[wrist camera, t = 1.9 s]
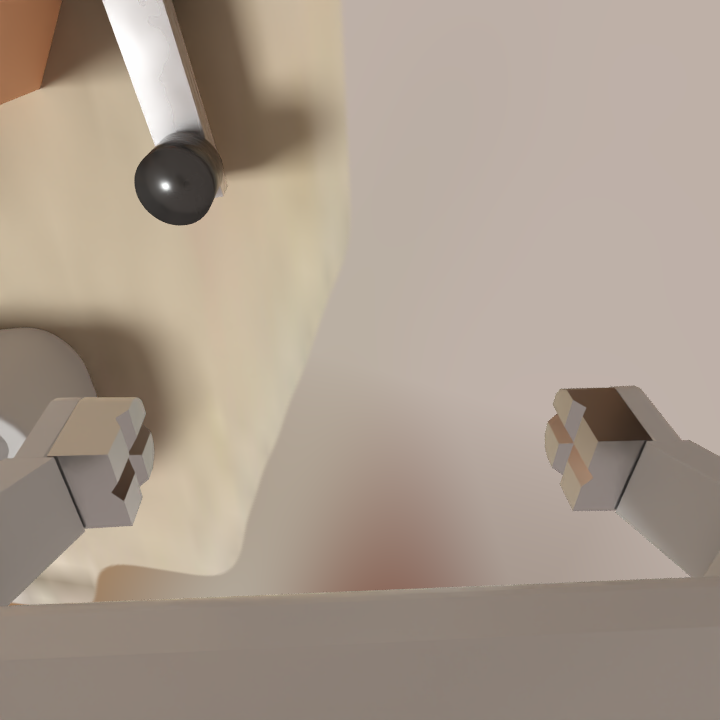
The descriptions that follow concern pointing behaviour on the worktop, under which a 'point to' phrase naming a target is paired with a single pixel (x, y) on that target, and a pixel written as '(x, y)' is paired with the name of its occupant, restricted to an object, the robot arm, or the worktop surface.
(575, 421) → the robot arm
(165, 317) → the worktop surface
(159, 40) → the crank
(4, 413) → the grey animal paw
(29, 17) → the block
